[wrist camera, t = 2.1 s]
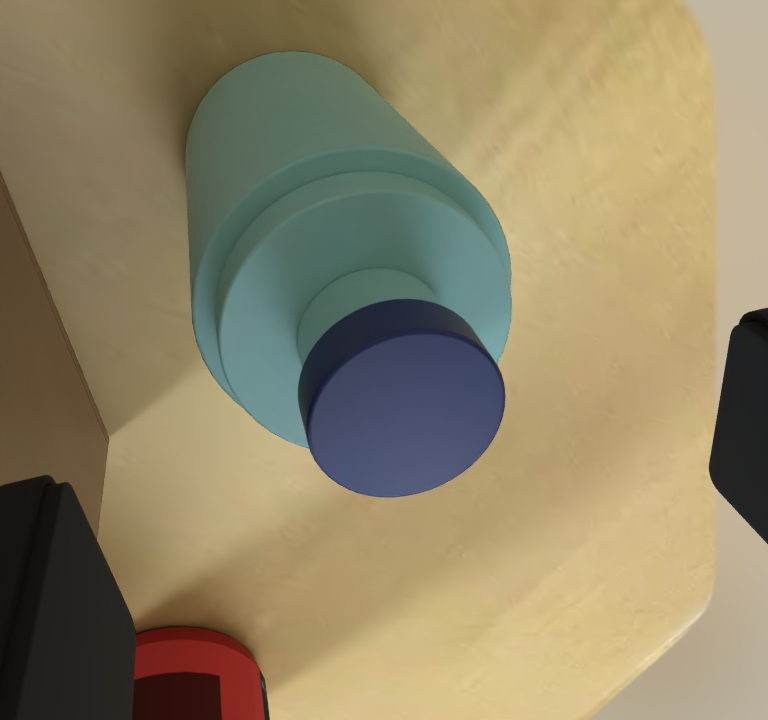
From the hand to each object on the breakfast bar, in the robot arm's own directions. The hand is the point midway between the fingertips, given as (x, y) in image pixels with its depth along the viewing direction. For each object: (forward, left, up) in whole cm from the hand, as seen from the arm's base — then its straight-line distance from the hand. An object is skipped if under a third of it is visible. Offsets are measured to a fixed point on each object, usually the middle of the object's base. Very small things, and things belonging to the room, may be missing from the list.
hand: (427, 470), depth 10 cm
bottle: (0, 0, -13) cm, 13 cm away
